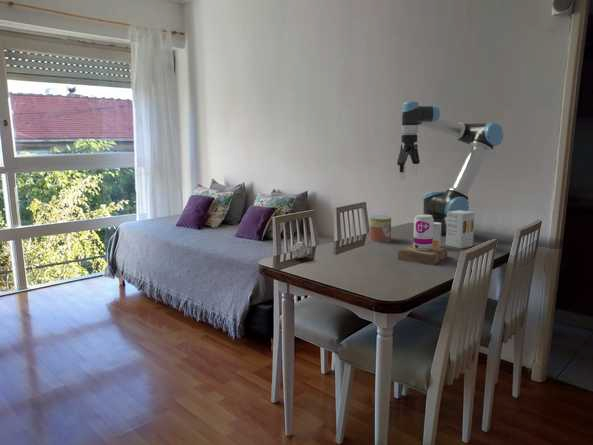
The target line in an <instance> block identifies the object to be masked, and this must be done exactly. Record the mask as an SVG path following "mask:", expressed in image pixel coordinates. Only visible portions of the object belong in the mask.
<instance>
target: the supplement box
mask: <svg viewBox="0 0 593 445" xmlns="http://www.w3.org/2000/svg"><path fill="white" fill-rule="evenodd" d="M475 216H476V212H475V211H470V210H468V211H462V210H458V211H450V212H447V217H446V225H447V230H446V234H445V245H446V246H448V247H449V246H450V247H453V248H458V249H464V248H469V247H473V246H474V232H475V218H476V217H475Z"/></svg>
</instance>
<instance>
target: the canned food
mask: <svg viewBox="0 0 593 445" xmlns="http://www.w3.org/2000/svg"><path fill="white" fill-rule="evenodd" d="M368 232H369V237H368V240H369V241H370V242H373V243H388V242H390V241H392V216H389V215H383V214H382V215H371V216H369V231H368Z"/></svg>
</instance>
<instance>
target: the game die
mask: <svg viewBox="0 0 593 445" xmlns="http://www.w3.org/2000/svg"><path fill="white" fill-rule="evenodd" d="M292 243H293V245H292V246H291V247H292V248H291V251H290V252H289V254H292V255H293V256H294V257H295V258H297V260H298V261H300V259H302V258H305V259H307V255H309V254H308V251H309V249H310V248H311V246H307V245H306V243H305V242H303V241H302V239H300V241H298V242H295V241H292Z"/></svg>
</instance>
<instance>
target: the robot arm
mask: <svg viewBox="0 0 593 445" xmlns="http://www.w3.org/2000/svg"><path fill="white" fill-rule="evenodd" d="M401 107H402V108H401V114H400V119H401V128H400V129H401V134H402V135H401V143H403V144H400V150H399V154H398V158H397V162H396V164H397V166H399V175H398V177H399V180H406V165H405V164H406V162H407V159H408V157H409V156H410V157H409V158H410V160H411V162H412V163H411V177H412V178H417V177H418V165H419V164H420V162H421V161H420V156H419V155H420V154H419V150H418V144H417V142H418V133H419V127H418V126H420V127H422V128H425V129H429V130H431V131H434V132H437V133H440V134H443V135H446V136H450V137H452V139H454V140H456V141H459V142H462V143H465V144H466V145H470V148H469V151H468V153H467V155H466V157H465V160H464V161H463V163H462V165H461V167H460V169H459V171H458V174H457V175H456V177H455V180H454V182H453V183H452V186H451V187H450V188H447V189H446V191H443V190H441V191H440V190H439V191H427V192H425V193H424V194H423V213H422V214H427V215H432V217H433V219H434V222H438V223H442V225H441V236H444V235H445V236H446V230H447V220H446V218H447V212H450V211H458V210H462V211H469V208H470V203H469V199H470V198H469V194H468V193H469V192H470V190H471V188H472V186H473V183H474V182H475V179H476V177H477V175H478V174H479V171H480V169H481V167H482V165H483V163H484V161H485V159H486V157H487V155H488V154H490V153H491V152H493V149H494V148H495V147H496V146H498V145H500V144H501V143H502V142H503V140H504V130H503V127H502V126H501V125H500V124H498V123H496V122H481V123H480V122H478V123H465V122H461V121H459V122H456V121H453V120H451V119H446V118H444V117H441V111H440V108H439V107H438V106H436V105H435V106H434V105H425V106H424V105H423V106H421V105H419V102H418V101H405V102H403V103H402V106H401Z"/></svg>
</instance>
